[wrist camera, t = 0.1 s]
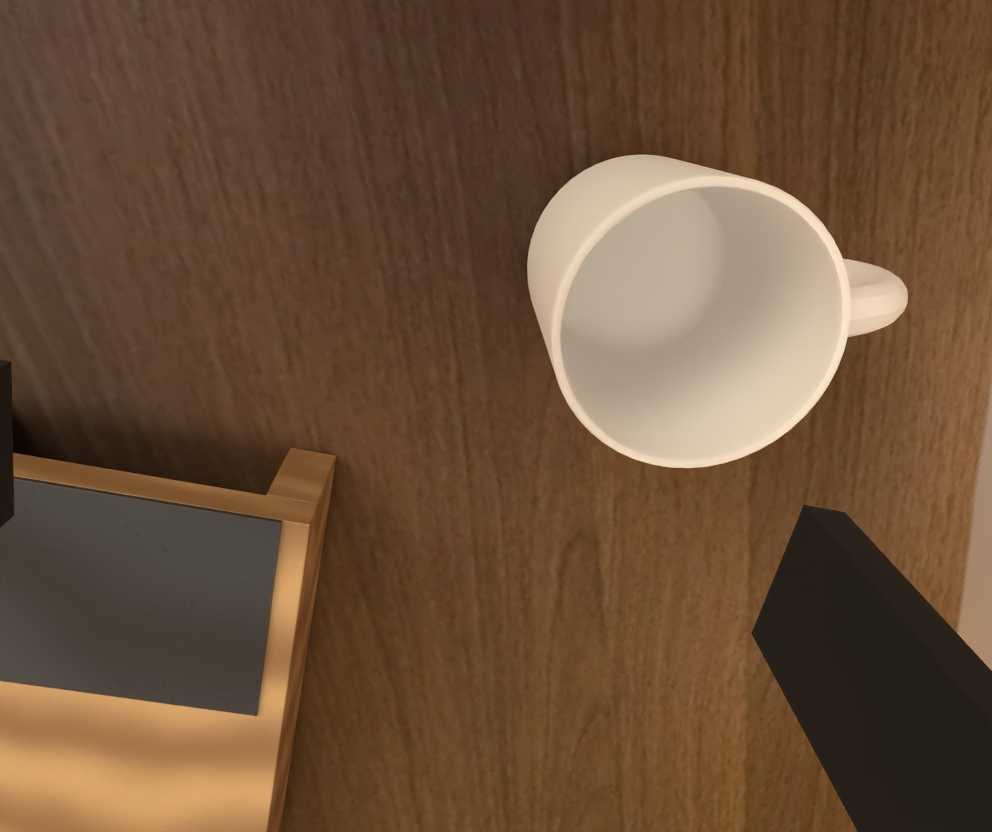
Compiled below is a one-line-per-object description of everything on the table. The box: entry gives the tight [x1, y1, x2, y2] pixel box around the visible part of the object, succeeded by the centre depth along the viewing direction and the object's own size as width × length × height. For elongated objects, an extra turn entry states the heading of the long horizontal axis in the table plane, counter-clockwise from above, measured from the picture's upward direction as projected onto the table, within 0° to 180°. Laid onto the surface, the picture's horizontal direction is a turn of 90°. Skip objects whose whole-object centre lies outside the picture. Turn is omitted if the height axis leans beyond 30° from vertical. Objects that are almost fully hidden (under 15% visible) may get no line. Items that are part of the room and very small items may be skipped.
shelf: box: [0, 448, 336, 832], centre depth 32 cm, size 22×16×9 cm
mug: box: [527, 155, 908, 468], centre depth 26 cm, size 12×8×10 cm
